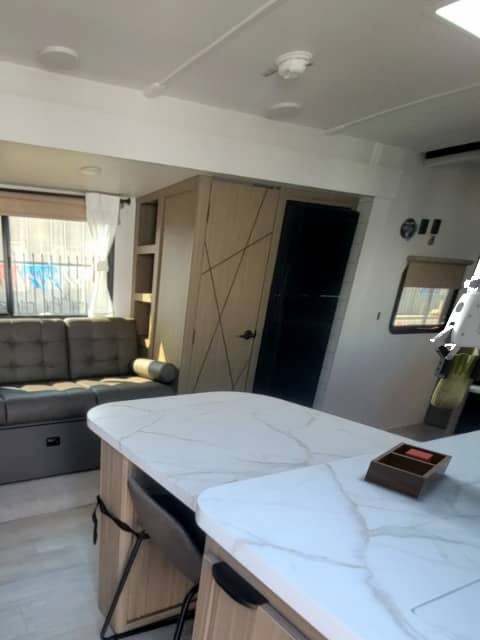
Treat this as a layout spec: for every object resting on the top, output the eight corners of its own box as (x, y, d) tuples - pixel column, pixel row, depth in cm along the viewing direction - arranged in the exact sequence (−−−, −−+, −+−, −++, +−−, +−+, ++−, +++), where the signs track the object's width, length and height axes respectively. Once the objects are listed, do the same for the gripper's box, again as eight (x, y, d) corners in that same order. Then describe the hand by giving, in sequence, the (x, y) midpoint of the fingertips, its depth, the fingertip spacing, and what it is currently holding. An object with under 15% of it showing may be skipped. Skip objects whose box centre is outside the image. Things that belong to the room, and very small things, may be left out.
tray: (394, 459, 96) (401, 441, 94) (444, 474, 90) (452, 456, 88) (363, 480, 86) (370, 460, 84) (416, 499, 79) (425, 478, 77)
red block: (405, 464, 93) (411, 448, 91) (425, 471, 90) (433, 454, 88) (398, 469, 90) (405, 452, 89) (420, 475, 87) (427, 459, 86)
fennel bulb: (456, 407, 91) (479, 352, 86) (462, 413, 87) (486, 356, 82) (425, 403, 93) (445, 350, 88) (429, 409, 90) (451, 353, 84)
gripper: (460, 286, 77) (425, 380, 85) (558, 289, 76) (513, 384, 83) (434, 285, 84) (404, 372, 91) (524, 287, 82) (485, 376, 90)
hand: (456, 377), depth 87 cm, fingers closed on fennel bulb, 5 cm apart
